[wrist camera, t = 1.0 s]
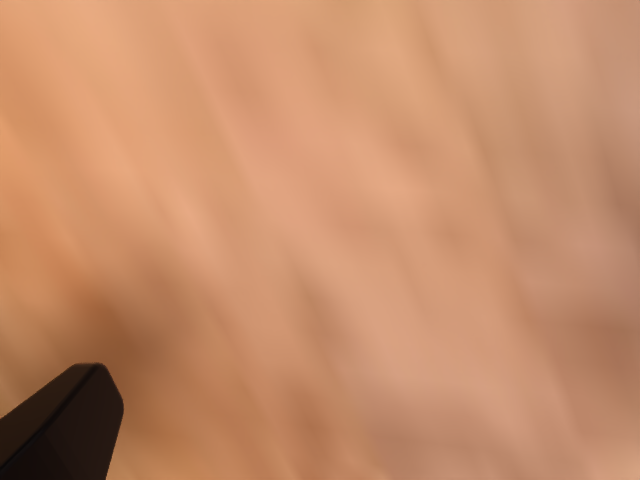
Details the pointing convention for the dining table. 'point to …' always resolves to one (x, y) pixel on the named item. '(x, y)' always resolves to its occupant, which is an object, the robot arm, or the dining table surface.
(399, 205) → the dining table surface
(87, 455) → the robot arm
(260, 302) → the dining table surface
